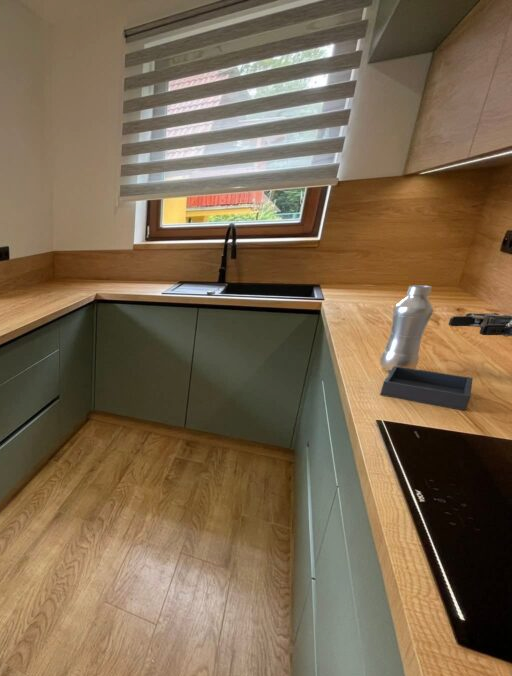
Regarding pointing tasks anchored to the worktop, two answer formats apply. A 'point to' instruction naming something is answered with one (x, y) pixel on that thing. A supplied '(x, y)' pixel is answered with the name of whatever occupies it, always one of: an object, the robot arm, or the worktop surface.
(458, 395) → the tray
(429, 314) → the silver bottle
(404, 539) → the worktop surface
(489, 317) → the robot arm
